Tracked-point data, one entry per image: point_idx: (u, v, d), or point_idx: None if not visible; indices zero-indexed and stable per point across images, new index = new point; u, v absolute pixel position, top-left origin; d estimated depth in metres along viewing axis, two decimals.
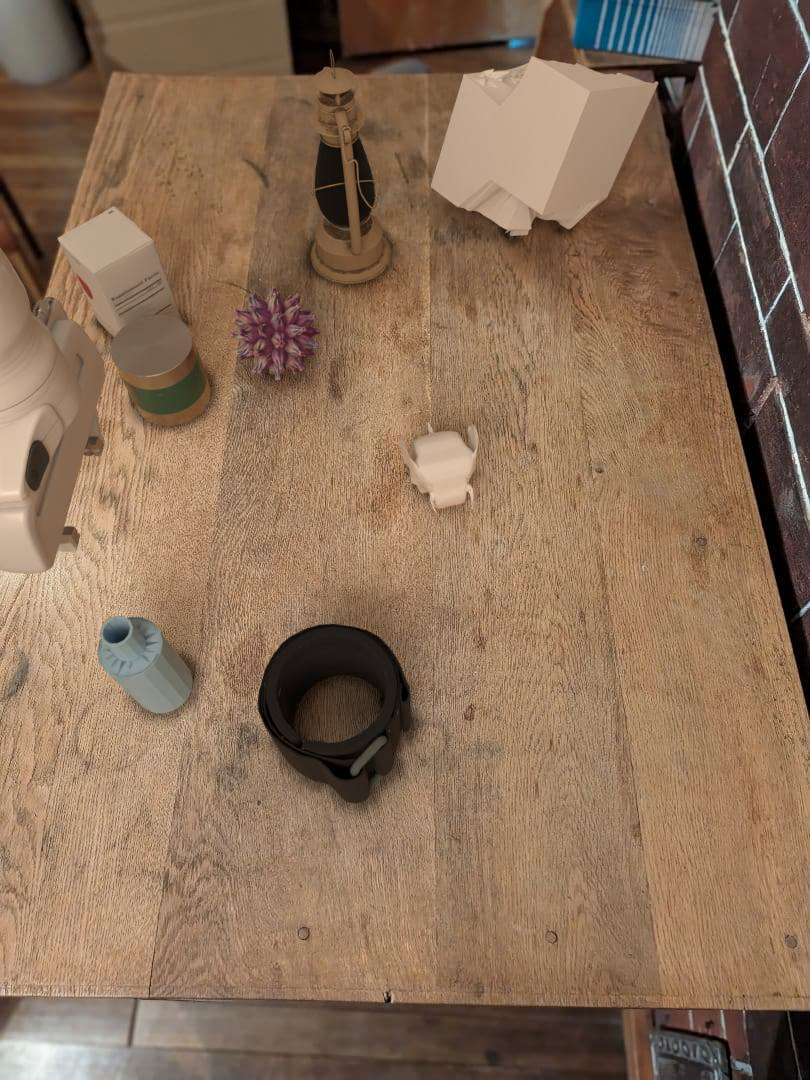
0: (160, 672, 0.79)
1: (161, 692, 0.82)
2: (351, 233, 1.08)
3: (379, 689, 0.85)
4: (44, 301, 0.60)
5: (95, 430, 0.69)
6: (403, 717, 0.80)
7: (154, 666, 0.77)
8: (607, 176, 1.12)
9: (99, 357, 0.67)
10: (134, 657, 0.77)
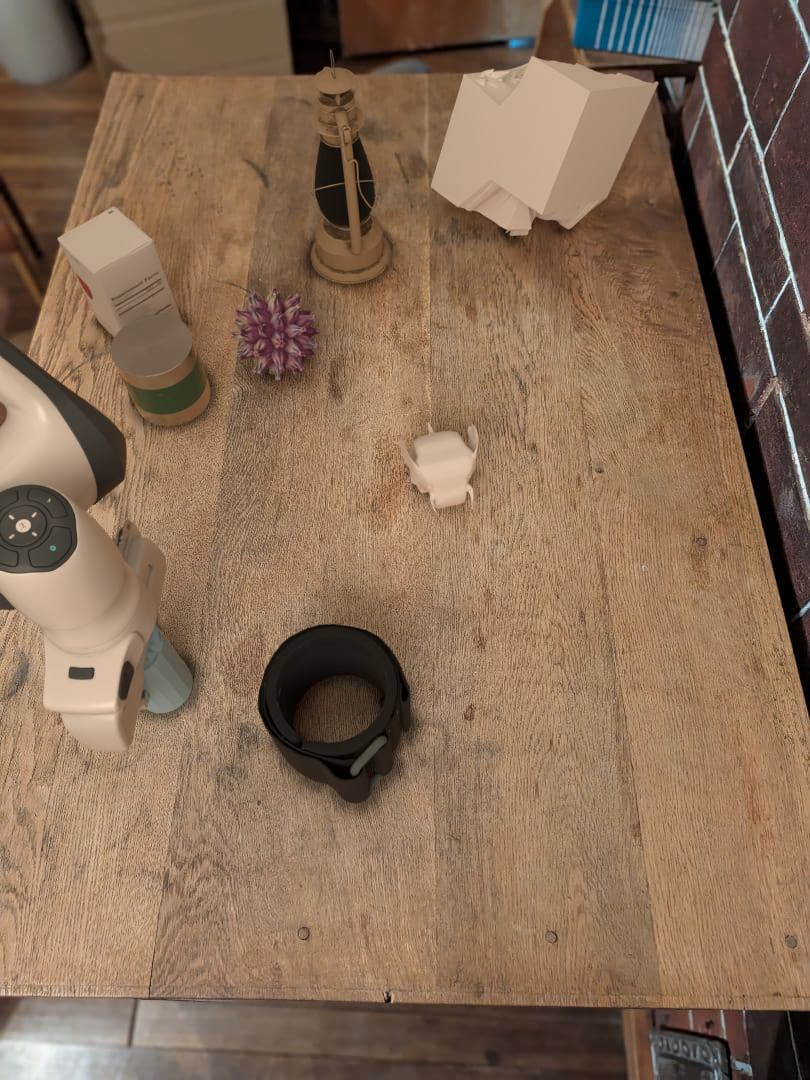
0: (161, 672, 0.79)
1: (161, 692, 0.82)
2: (351, 233, 1.08)
3: (379, 689, 0.85)
4: (124, 529, 0.75)
5: (156, 620, 0.83)
6: (403, 717, 0.80)
7: (154, 666, 0.77)
8: (607, 176, 1.12)
9: (163, 557, 0.81)
10: None
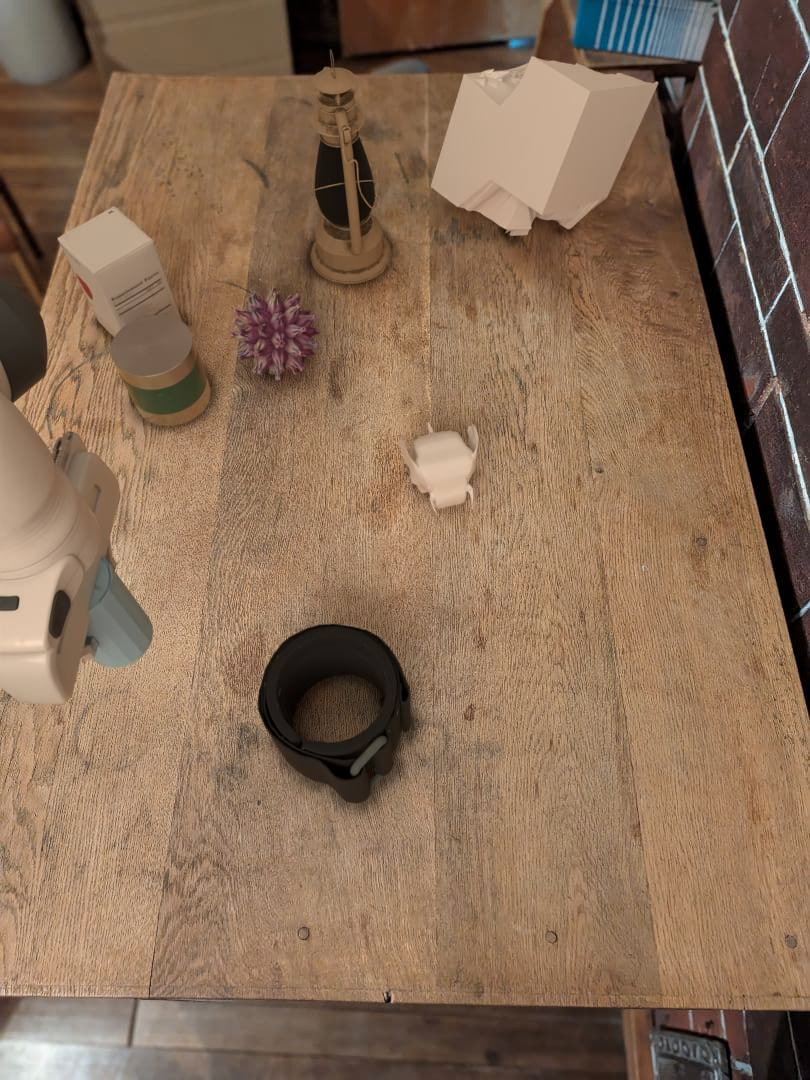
0: (110, 614, 0.67)
1: (113, 640, 0.70)
2: (351, 233, 1.08)
3: (379, 689, 0.85)
4: (64, 439, 0.63)
5: (108, 556, 0.70)
6: (403, 717, 0.80)
7: (102, 605, 0.65)
8: (607, 176, 1.12)
9: (114, 480, 0.69)
10: None
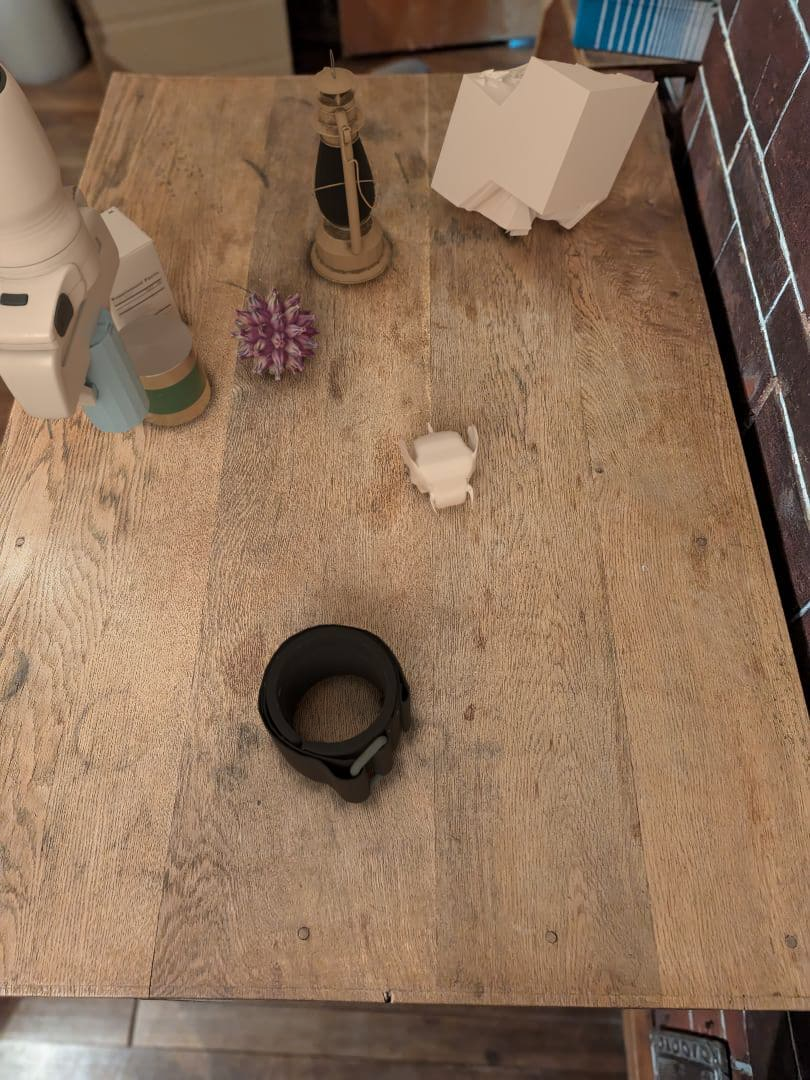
0: (110, 360, 0.74)
1: (112, 393, 0.77)
2: (351, 233, 1.08)
3: (379, 689, 0.85)
4: (69, 187, 0.70)
5: None
6: (403, 717, 0.80)
7: (102, 346, 0.72)
8: (607, 176, 1.12)
9: (114, 246, 0.76)
10: None
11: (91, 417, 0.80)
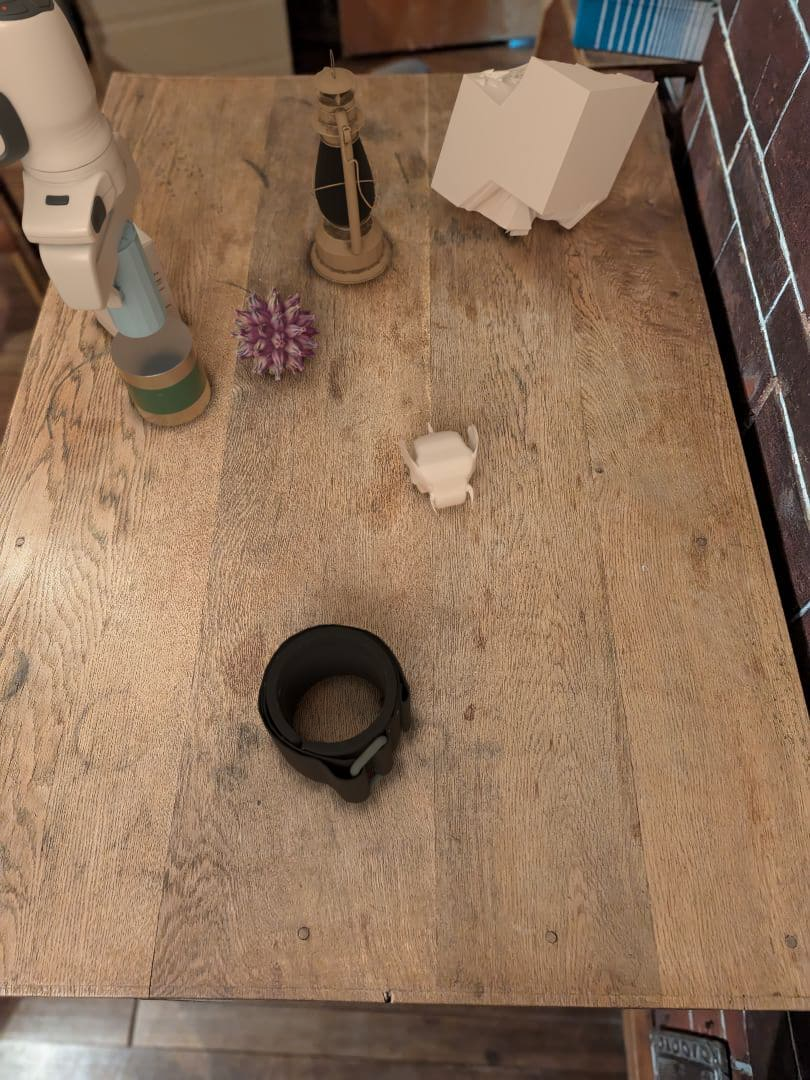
0: (135, 266, 0.86)
1: (136, 297, 0.89)
2: (351, 233, 1.08)
3: (379, 689, 0.85)
4: None
5: None
6: (403, 717, 0.80)
7: (128, 251, 0.84)
8: (607, 176, 1.12)
9: (136, 169, 0.88)
10: None
11: (117, 322, 0.92)
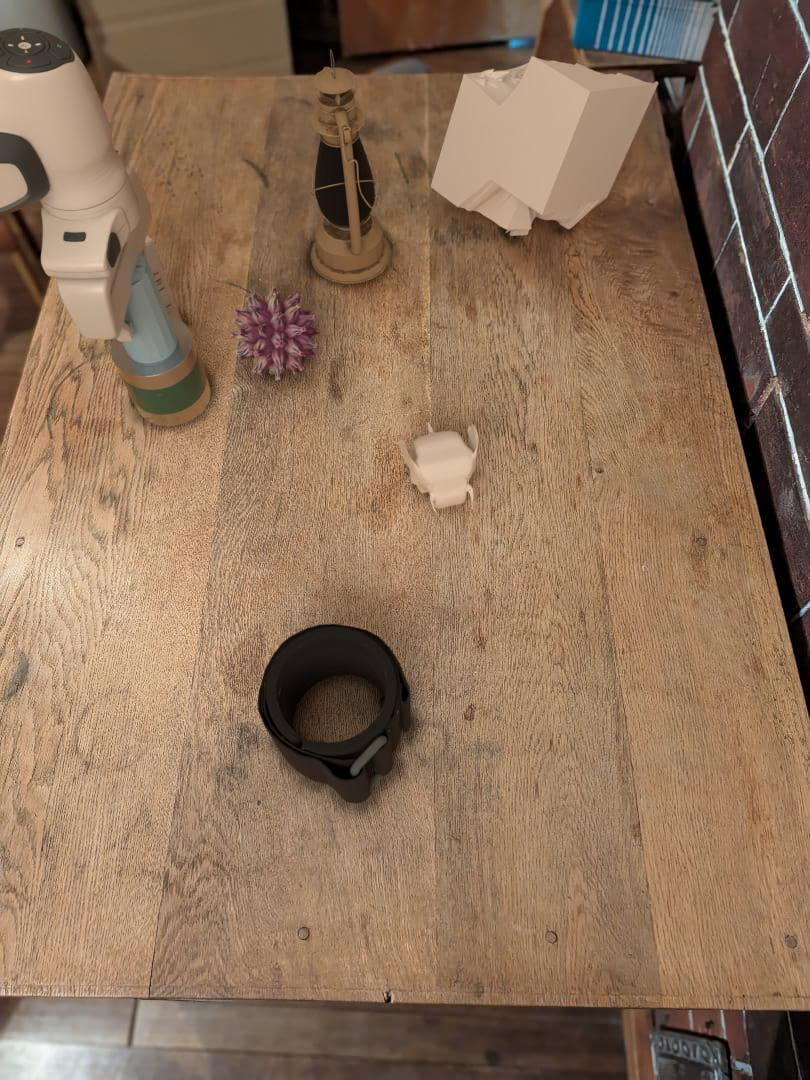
0: (147, 297, 0.90)
1: (148, 326, 0.92)
2: (351, 233, 1.08)
3: (379, 689, 0.85)
4: None
5: None
6: (403, 717, 0.80)
7: (141, 284, 0.88)
8: (607, 176, 1.12)
9: (147, 201, 0.91)
10: None
11: (129, 349, 0.96)
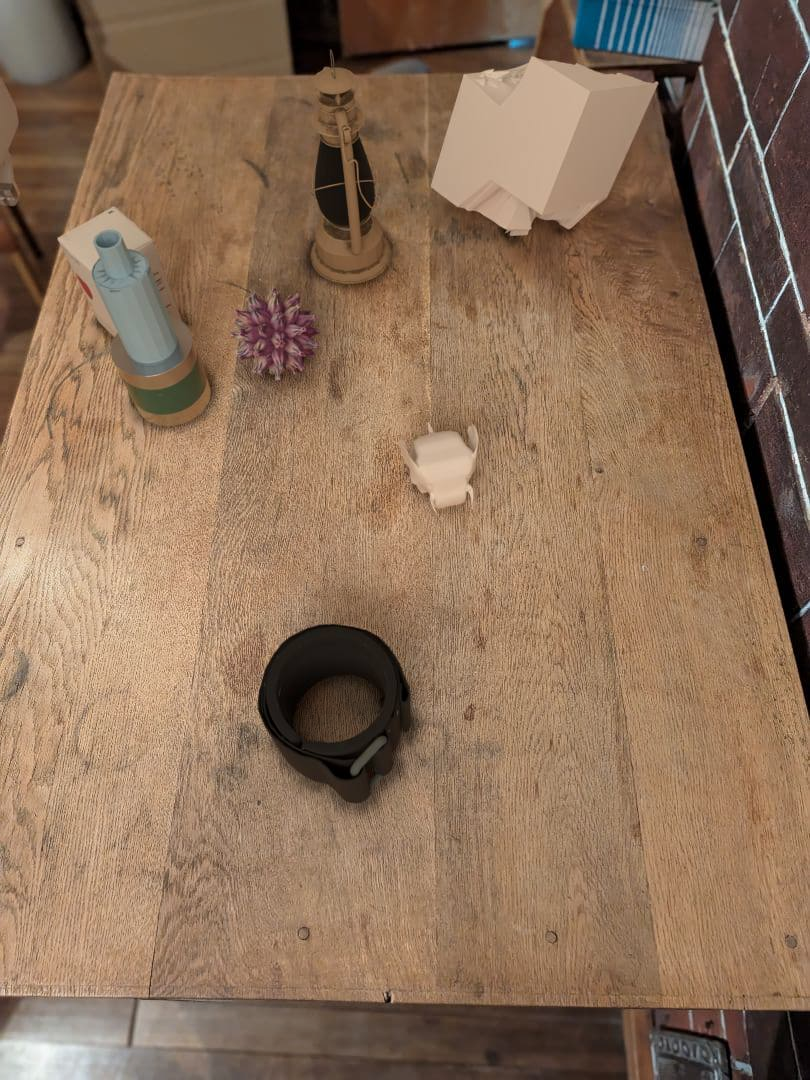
0: (147, 297, 0.90)
1: (148, 326, 0.92)
2: (351, 233, 1.08)
3: (379, 689, 0.85)
4: None
5: (9, 177, 0.74)
6: (403, 717, 0.80)
7: (141, 284, 0.88)
8: (607, 176, 1.12)
9: (11, 101, 0.72)
10: (123, 274, 0.87)
11: (129, 349, 0.96)
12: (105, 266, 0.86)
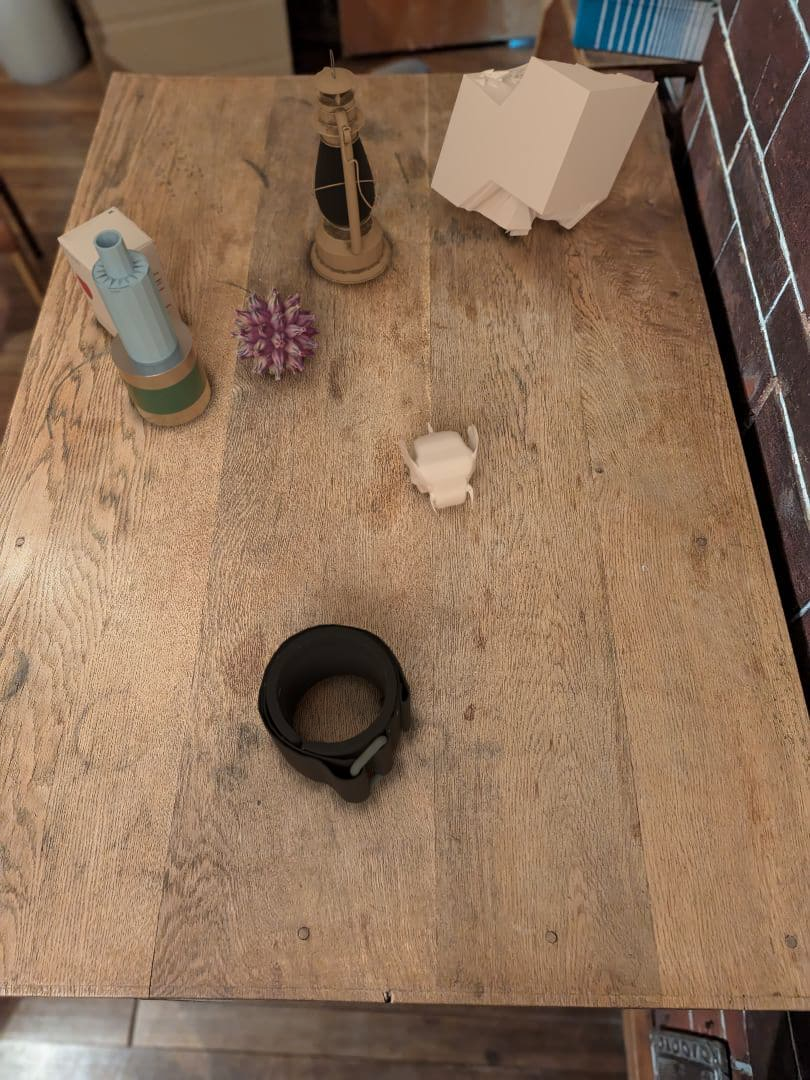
0: (147, 297, 0.90)
1: (148, 326, 0.92)
2: (351, 233, 1.08)
3: (379, 689, 0.85)
4: None
5: None
6: (403, 717, 0.80)
7: (141, 284, 0.88)
8: (607, 176, 1.12)
9: None
10: (123, 274, 0.87)
11: (129, 349, 0.96)
12: (105, 266, 0.86)
